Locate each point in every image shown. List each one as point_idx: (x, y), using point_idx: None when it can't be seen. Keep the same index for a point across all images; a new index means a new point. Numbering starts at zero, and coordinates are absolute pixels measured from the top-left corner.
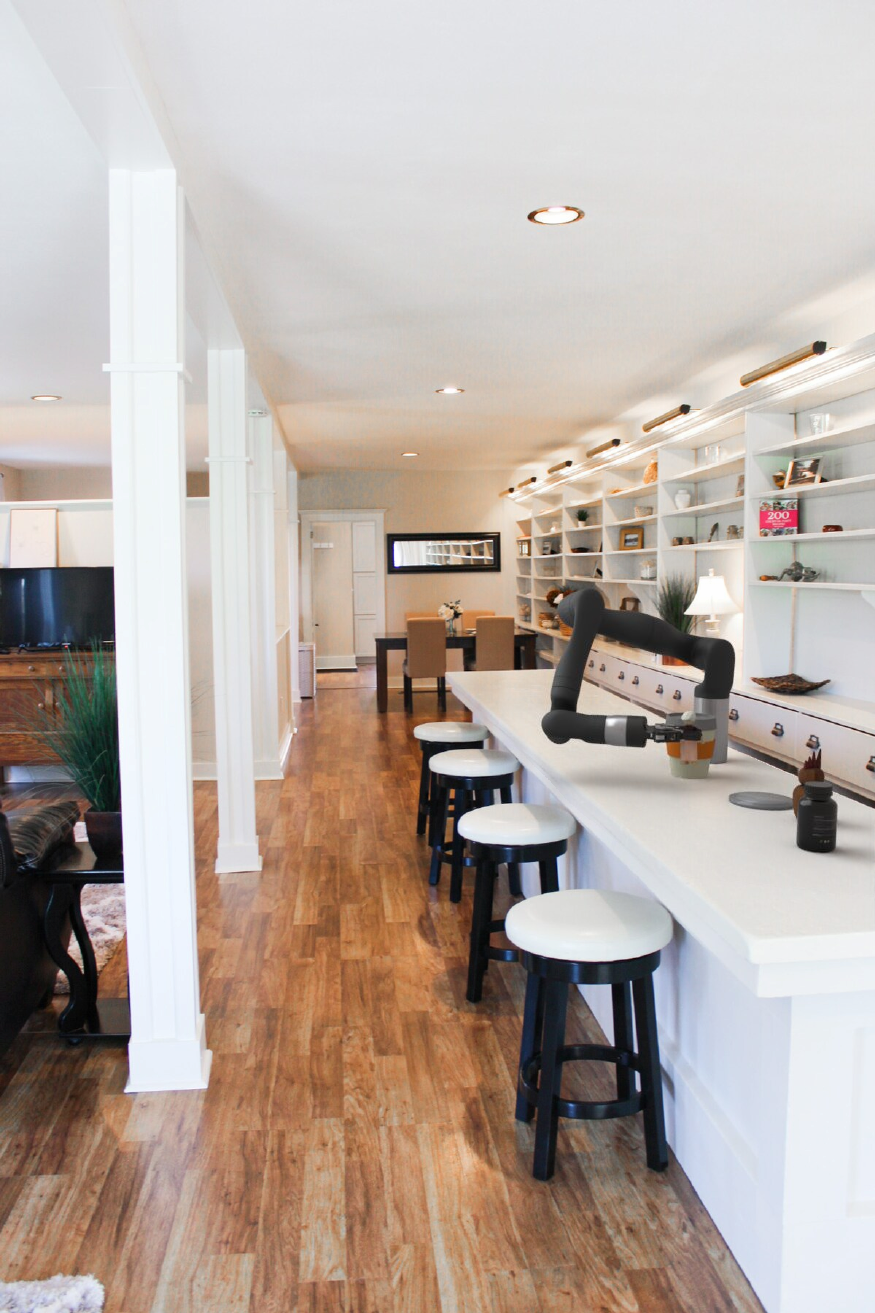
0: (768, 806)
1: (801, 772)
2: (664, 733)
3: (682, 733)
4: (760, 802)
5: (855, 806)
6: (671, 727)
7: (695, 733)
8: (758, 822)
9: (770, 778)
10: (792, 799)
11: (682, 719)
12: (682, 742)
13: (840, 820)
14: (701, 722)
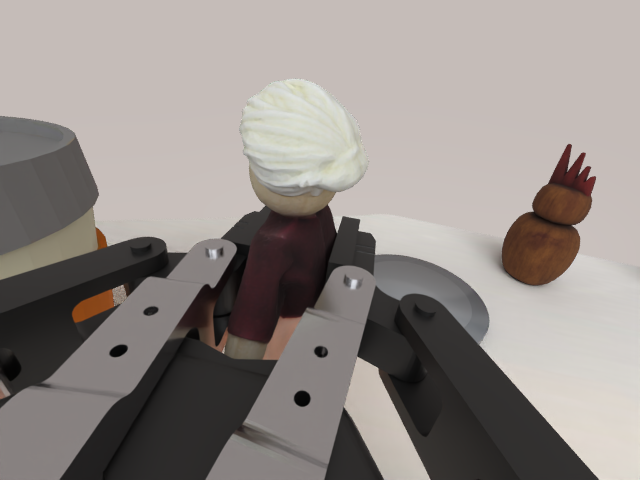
0: (481, 299)
1: (589, 203)
2: (576, 476)
3: (383, 294)
4: (457, 303)
5: (377, 216)
6: (335, 323)
7: (367, 240)
8: (615, 346)
9: (171, 239)
10: (555, 260)
11: (337, 184)
12: (283, 339)
13: (478, 245)
14: (73, 162)
